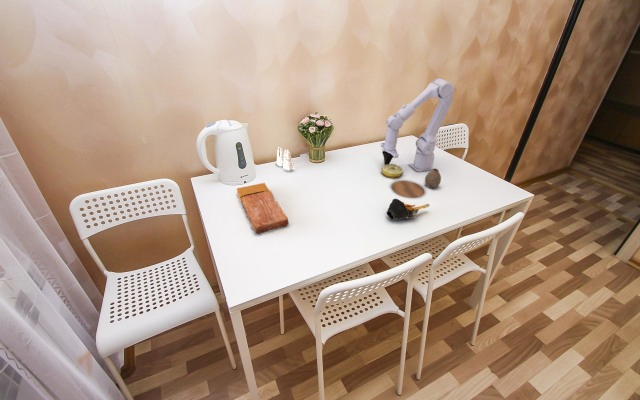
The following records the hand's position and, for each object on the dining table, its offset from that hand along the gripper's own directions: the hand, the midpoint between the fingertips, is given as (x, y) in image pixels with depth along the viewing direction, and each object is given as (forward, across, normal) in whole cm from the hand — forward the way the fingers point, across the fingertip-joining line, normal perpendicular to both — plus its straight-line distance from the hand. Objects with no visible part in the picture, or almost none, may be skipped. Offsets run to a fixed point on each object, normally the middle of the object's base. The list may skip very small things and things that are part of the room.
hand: (386, 164), depth 151 cm
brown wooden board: (+2, +20, -68) cm, 71 cm away
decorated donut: (+2, +6, 0) cm, 7 cm away
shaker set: (+2, -13, -51) cm, 53 cm away
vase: (+2, +22, +13) cm, 25 cm away
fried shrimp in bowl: (+2, +40, -12) cm, 42 cm away
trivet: (+2, +21, 0) cm, 21 cm away
